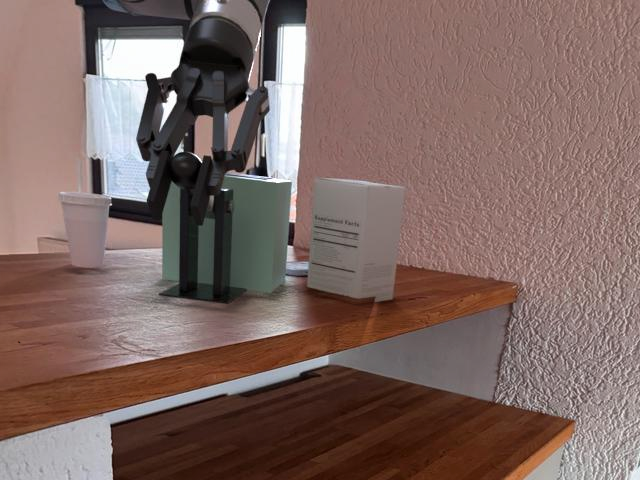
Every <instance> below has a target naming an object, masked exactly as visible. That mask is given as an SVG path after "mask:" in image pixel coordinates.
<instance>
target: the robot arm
mask: <svg viewBox="0 0 640 480" xmlns="http://www.w3.org/2000/svg"><path fill="white" fill-rule="evenodd" d="M102 2H103V4H104V5H105V6H106V7H108V9H110V10H112V11H116V12H122V13H127V14H130V15H132V16H135V17H139V16H148V17H149V16H150V17H160V18H167V19H169V18H170V19H178V20H185V21H186V20H187V21H190V24H189V27H188V31H187V33H186V37H185V39H184V43H183V46H182V49H181V53H180V57H179V62H178V66H177V67H176V68H175V69H173V71H172V72H171V74H170V76H168V77H162V78H158V76H157V74H156V73H154V72H149V73H147V74H146V75H145V76H144V78H145V82H146V86H147V92H146V97H145V100H144V104H143V108H142V111H141V116H140V120H139V125H138V129H137V133H136V137H135V141H136V144H137V147H138V151H139V153H140V157H141V158H142V160H143V161H144V162H148V163H147V164H148V165H147V168H146V171H145V177H146V181H147V184H148V187H149V191H148V194H147V197H146V203H147V206H148V209H149V212H150V215H151V218H152V221H159V222H160V221H161V219H162V213H163V210H164V206H165V203H166V199H167V196H168V192H169V189H170V185H171V182H172V180H171V178H170V176H169V171H168V167H169V163H170V160H171V159H172V157H173V156H174V155H176V154H177V151H178V149H179V148H180V145H181V143H182V142H183V140H184V138H185V136H186V134H187V133H188V131H189V129H190V127H191V126H194V125H195V124H196V122H197V120H198V118H199V116H200V117H201V116H207V117H210V118H212V139H211V140H212V141H211V147H210V150H211V154H212V155H206V154H204V155H203V157H202V160H201V162H202V164H201V167H200V171H199V175H198V178H197V182H196V186H195V190H194V193H193V197H192V201H191V204H190V207H191V211H192V215H193V219H194V222H195V225H200V226H203V222H204V218H205V214H206V210H207V207H208V203H209V199H210V196H218V195H219V194H220V192H221V188H222V185H223V181H224V177H225V174H226V173H227V172H228V173H229V172H230V171H234V172H236V173H237V174H242V173H243V172H245V171H246V168H247V166H248V163H249V160H250V157H251V156H250V155H251V153H252V149H253V146H254V144H255V143H254V142H255V141H256V137H257V134H258V131H259V128H260V125H261V122H262V121H263V119H264V118H265V117H266V116H267V115H268V114H269V113H270V111H271V107H270V106H271V105H270V97H269V89H268V87H266V86H264V85H260V86H258V87H257V88H254V87H253V86H250V78H251V74H252V69H253V65H254V61H255V59H256V54H257V50H258V46H259V42H260V37H261V33H262V29H263V26H264V25H263V24H264V21H265V18H266V14H267V10H268V6H269V4H270V3H271V0H102ZM172 92H174V93H175V95H176V99H175V104H174V105H173V107H172V109H171V111H170V112H169V114H168V116H167V118H166V120H165V121H164V123H163V125H162V121H163V118H164V112H165V104H167V103H168V102H169V101H168V99H169V98H170V94H171V93H172ZM243 103H245V106H244V110H243V112H242V115H241V118H240V121H239V124H238V127H237V130H236V133H235V136H234V139H233V142H232V146H231V148H230V150H228V149H229V147H228V146H229V127H230V126H229V125H230V123H229V122H230V113H231V112H232V111H233V110H235V109H236V108H238V107H239V106H240V105H242V104H243Z"/></svg>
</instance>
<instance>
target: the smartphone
mask: <svg viewBox="0 0 640 480" xmlns="http://www.w3.org/2000/svg"><path fill="white" fill-rule="evenodd" d="M308 266H309V260H306V261H301V260H300V261H287V262H286V275H289V276H308Z"/></svg>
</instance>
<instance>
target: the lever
mask: <svg viewBox="0 0 640 480" xmlns="http://www.w3.org/2000/svg"><path fill="white" fill-rule="evenodd" d="M201 164H202V160H201V159H200V157H199V156H197V154H195V153H193V152H191V151H190V152H189V151H180V152H176V153H175V155H174V156H173V157H172V159H171V160H170V163H169V167H168V171H169V176H170V178H171V180H172V182H173V183H174V184H175V185H176V186H177V187H179V188H181V189H184V190H191V191H192V193H194V190H195V186H196V182H197V178H198V175H199V171H200V167H201ZM215 201H216V196H210V199H209V203H208V207H207V210H206V214H205V218H209V219H215Z"/></svg>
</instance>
